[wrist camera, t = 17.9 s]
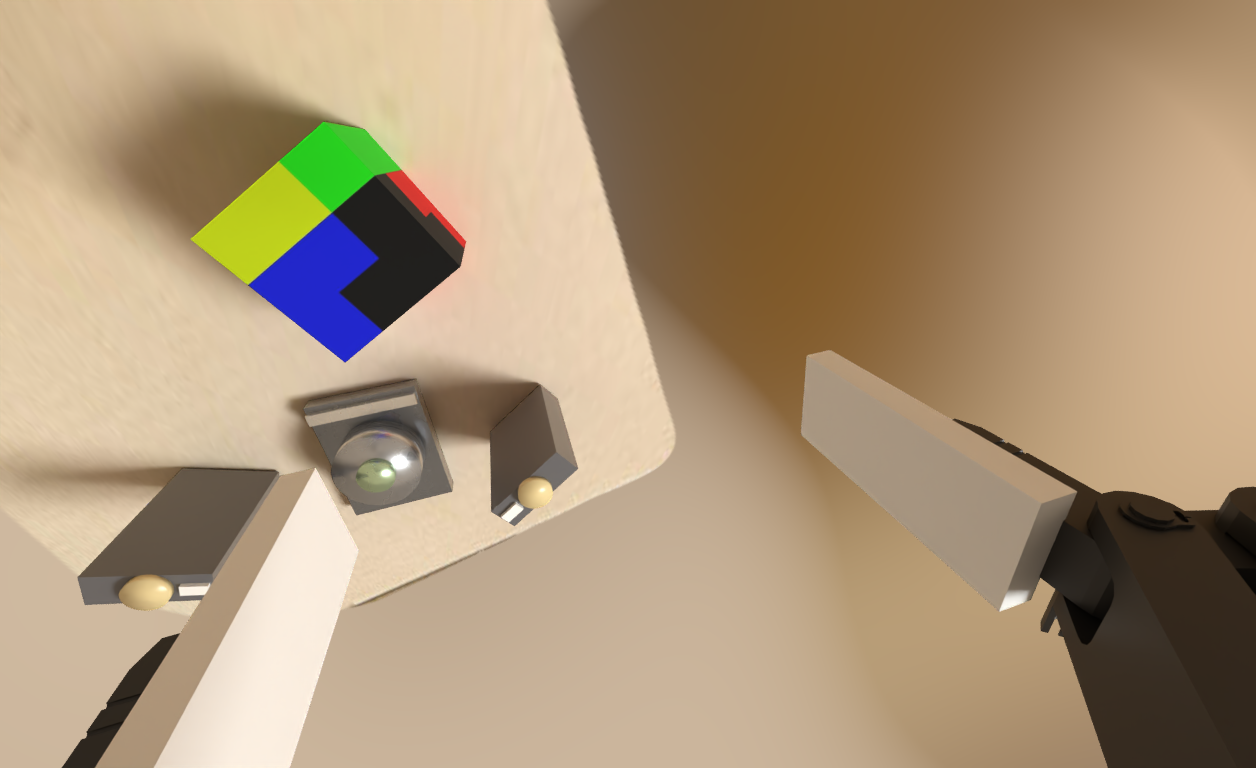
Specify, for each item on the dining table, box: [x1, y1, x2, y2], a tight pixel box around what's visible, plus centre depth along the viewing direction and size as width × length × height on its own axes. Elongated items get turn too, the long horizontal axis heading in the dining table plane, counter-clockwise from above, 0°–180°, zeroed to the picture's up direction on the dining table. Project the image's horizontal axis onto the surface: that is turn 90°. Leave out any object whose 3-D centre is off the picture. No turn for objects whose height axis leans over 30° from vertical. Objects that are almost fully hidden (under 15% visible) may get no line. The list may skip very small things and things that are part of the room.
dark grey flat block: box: [78, 468, 279, 611], centre depth 37 cm, size 7×3×13 cm, turn 76°
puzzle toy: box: [191, 122, 466, 362], centre depth 33 cm, size 10×10×10 cm
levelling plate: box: [303, 379, 453, 515], centre depth 42 cm, size 12×9×5 cm
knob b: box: [490, 384, 578, 526], centre depth 41 cm, size 7×3×13 cm, turn 131°
